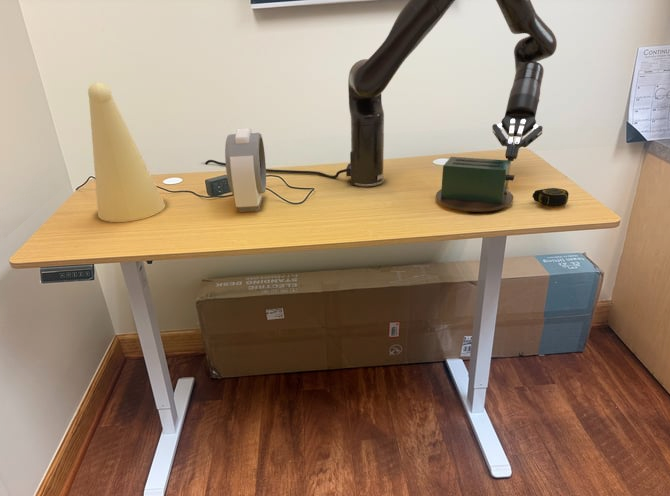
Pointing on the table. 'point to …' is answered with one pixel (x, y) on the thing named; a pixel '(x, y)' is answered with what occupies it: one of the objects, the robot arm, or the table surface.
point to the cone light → (118, 164)
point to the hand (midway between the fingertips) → (510, 159)
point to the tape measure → (551, 197)
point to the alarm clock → (246, 168)
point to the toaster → (475, 184)
